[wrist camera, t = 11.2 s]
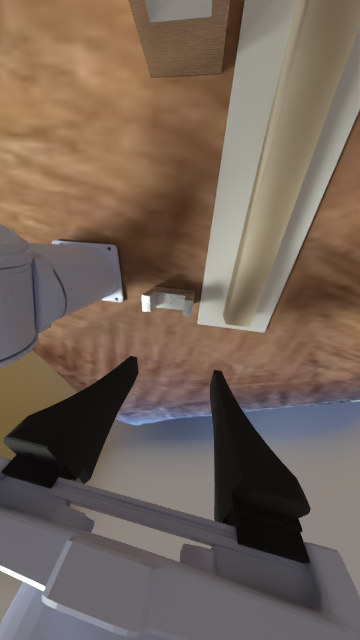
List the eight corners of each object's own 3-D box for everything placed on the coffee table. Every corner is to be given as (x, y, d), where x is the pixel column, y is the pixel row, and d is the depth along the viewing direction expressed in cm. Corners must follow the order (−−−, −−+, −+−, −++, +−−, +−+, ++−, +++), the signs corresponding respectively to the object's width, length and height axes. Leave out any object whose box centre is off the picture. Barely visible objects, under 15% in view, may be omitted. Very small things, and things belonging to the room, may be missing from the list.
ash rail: (222, 314, 19) (225, 324, 17) (303, -25, 9) (349, -151, 6) (243, 317, 19) (250, 327, 17) (355, -31, 8) (428, -166, 6)
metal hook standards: (154, 299, 21) (142, 311, 16) (149, 33, 11) (114, -115, 6) (193, 303, 20) (191, 317, 16) (227, 27, 10) (245, -142, 6)
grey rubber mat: (197, 322, 21) (197, 323, 21) (253, -63, 8) (257, -85, 8) (262, 330, 20) (264, 332, 20) (438, -91, 8) (456, -118, 7)
